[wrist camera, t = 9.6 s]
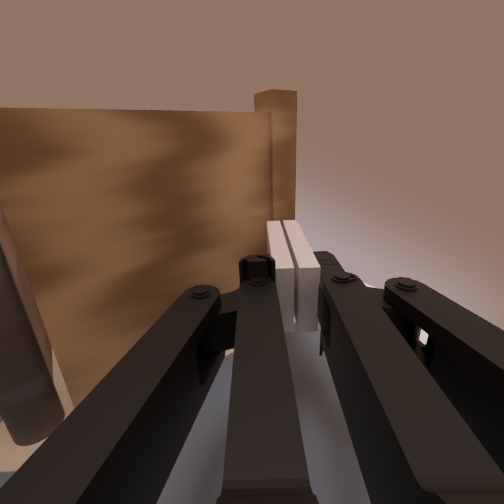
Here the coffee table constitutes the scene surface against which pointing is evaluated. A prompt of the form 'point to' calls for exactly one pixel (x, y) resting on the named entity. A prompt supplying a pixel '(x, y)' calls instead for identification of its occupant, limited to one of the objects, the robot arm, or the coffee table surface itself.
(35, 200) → the fence panel
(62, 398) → the board
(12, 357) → the rod
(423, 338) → the coffee table surface
